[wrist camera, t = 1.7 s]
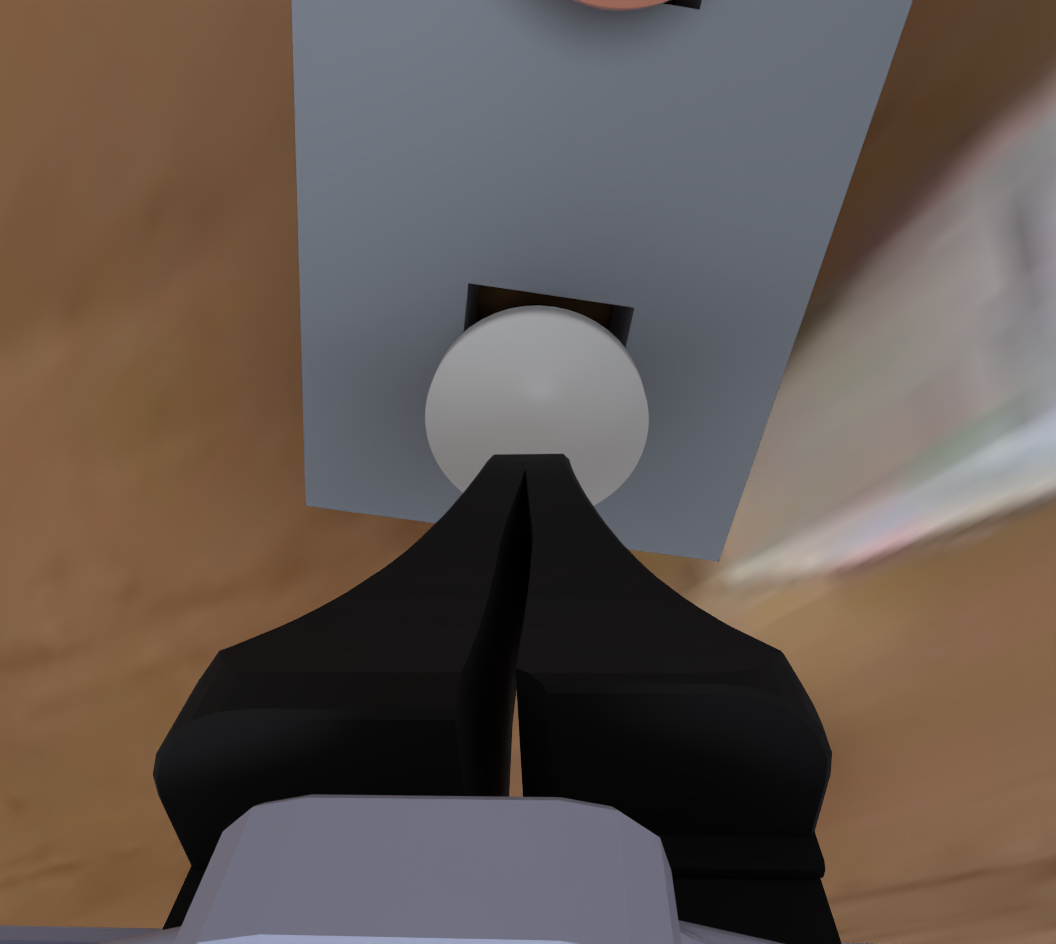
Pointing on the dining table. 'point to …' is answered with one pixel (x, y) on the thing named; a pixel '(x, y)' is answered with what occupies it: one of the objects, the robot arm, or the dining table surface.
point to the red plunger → (620, 4)
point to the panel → (570, 219)
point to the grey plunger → (538, 398)
